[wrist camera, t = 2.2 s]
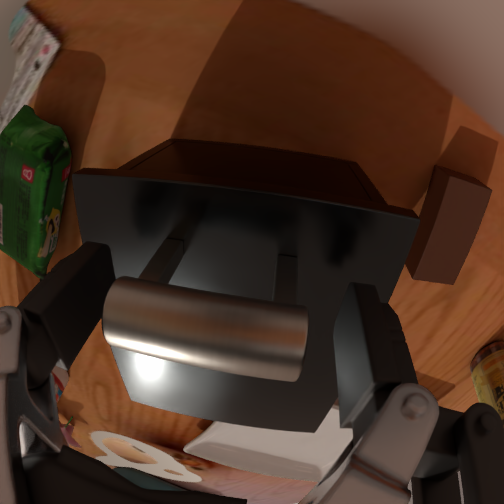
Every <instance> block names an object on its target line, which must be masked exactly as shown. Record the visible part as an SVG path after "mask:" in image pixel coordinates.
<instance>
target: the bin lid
mask: <svg viewBox="0 0 504 504" xmlns="http://www.w3.org/2000/svg"><path fill="white" fill-rule="evenodd" d="M72 182H73V190H74V197H75V204H76V211H77V217H78V223H79V228H80V234H81V239H82V244H84V243H85V242H86V241H91V242H97V243H103V244H107V245H108V246H109V247H110V250H111V255H112V261H113V267H114V272H115V277H116V280H115V281H114V282H113V283H112V285H111V286H110V288H109V290H108V292H107V295H106V298H105V301H104V305H103V310H102V317H101V319H102V330H103V335H104V337H105V339H106V341H107V342H108V343H109V344H110V347H111V350H112V352H113V355H114V358H115V361H116V363H117V366H118V369H119V371H120V374H121V377H122V379H123V382H124V384H125V387H126V389H127V392H128V394H129V396H130V399H131V400H132V401H135V402H139V403H142V404H145V405H149V406H153V407H156V408H160V409H164V410H168V411H172V412H176V413H180V414H184V415H188V416H193V417H198V418H202V419H207V420H212V421H218V422H223V423H229V424H235V425H242V426H248V427H255V428H263V429H272V430H281V431H292V432H305V433H315V432H316V431H317V429H318V428H319V426H320V425H321V423H322V422H323V420H324V419H325V417H326V416H327V414H328V412H329V411H330V409H331V408H332V406H333V404H334V403H335V401H336V400H337V398H338V387H337V373H336V361H335V350H334V339H333V333H334V325H335V321H336V318H337V315H338V312H339V310H340V307H341V304H342V301H343V299H344V296H345V293H346V290H347V287H348V285H349V283H350V282H355V283H362V284H370V285H375V287H376V289H377V292H378V295H379V298H380V302H381V303H388V302H389V300H390V297H391V295H392V293H393V291H394V288H395V286H396V284H397V281H398V279H399V277H400V274H401V272H402V269H403V267H404V264H405V262H406V259H407V257H408V254H409V252H410V249H411V246H412V244H413V241H414V238H415V235H416V233H417V230H418V227H419V224H420V218H419V217H418V216H417V214H416V213H415V212H414V211H413V210H410V209H405V208H401V207H396V206H392V205H387V204H382V203H377V202H372V201H367V200H362V199H357V198H352V197H346V196H341V195H335V194H330V193H324V192H318V191H312V190H306V189H299V188H293V187H286V186H280V185H273V184H266V183H258V182H251V181H243V180H235V179H226V178H217V177H208V176H198V175H188V174H177V173H165V172H152V171H138V170H121V169H100V168H82V169H81V170H79V171H77V172H75V173H74V174H72Z"/></svg>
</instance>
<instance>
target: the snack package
mask: <svg viewBox="0 0 504 504" xmlns="http://www.w3.org/2000/svg"><path fill="white" fill-rule="evenodd" d="M71 162H72V156H71V149H70V146H69V144H68V140H67V137H66V135H65V133H64V131H63V130H62V128H61V127H60V126H57V125H52V124H49V123H48V122H46V121H44V120H42V119H40V118H39V117H38V116H37V115H36V114H35V113H34V110H33V109H32V108H31V107H30V106H27V105H24V106H23V107H22V108H21V110H20V111H19V112H18V113H17V114H16V115H15V117H14V118H13V119H12V120H11V121H10V122H9V124H8V125H7V126H6V127H5V129H4V130H3V131H2V133H1V134H0V249H1V250H2V251H3V252H4V253H6V254H7V255H9V256H10V257H12V258H13V259H14V260H16V261H17V262H19V263H20V264H21V265H23V266H24V267H26V268H27V269H28V270H30V271H31V272H33V273H34V274H35V275H36V276H37V277H39V278H40V281H41V280H44V277H45V276H46V275H47V267H48V264H49V261H50V259H51V257H52V255H53V253H54V251H55V248H56V245H57V240H58V232H59V226H60V221H61V214H62V208H63V203H64V197H65V192H66V186H67V181H68V177H69V173H70V169H71Z"/></svg>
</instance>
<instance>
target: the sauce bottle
mask: <svg viewBox="0 0 504 504" xmlns="http://www.w3.org/2000/svg"><path fill="white" fill-rule="evenodd" d="M470 369H471V373H472V375H471V377H472V380H473V383H474V387H475V390H476V393H477V397H478V400H479V403H486V404H489V405H490V406H492V407H493V408H494V409H495V410H496V411H497V412H498V414H499V415H500V417H501V420H502V423H503V426H504V341H496V342H494V343H492V344H490V345H488V346H487V347H484V348H483V349H481V350H480V351H479V352H478V354H477V355H476V356H475V357H474V359H473V360H472V362H471V366H470Z"/></svg>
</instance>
